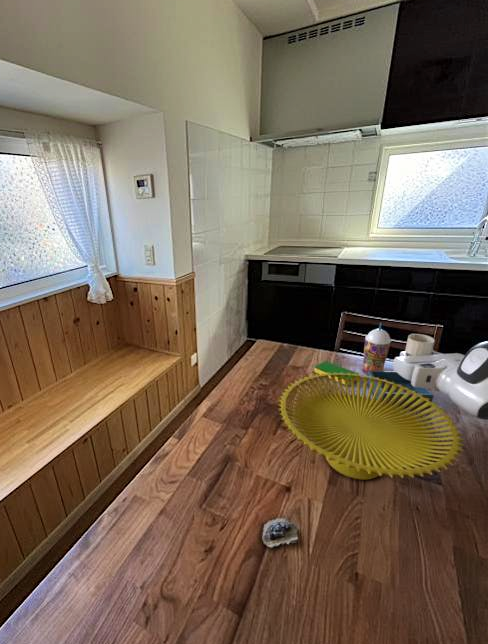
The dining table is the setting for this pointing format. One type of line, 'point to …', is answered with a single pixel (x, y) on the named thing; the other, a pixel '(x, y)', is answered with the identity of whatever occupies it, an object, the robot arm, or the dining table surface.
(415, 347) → the cup
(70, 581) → the dining table surface
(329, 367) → the dish sponge
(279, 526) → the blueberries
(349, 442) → the yellow slatted bowl
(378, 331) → the smoothie
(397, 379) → the basin
